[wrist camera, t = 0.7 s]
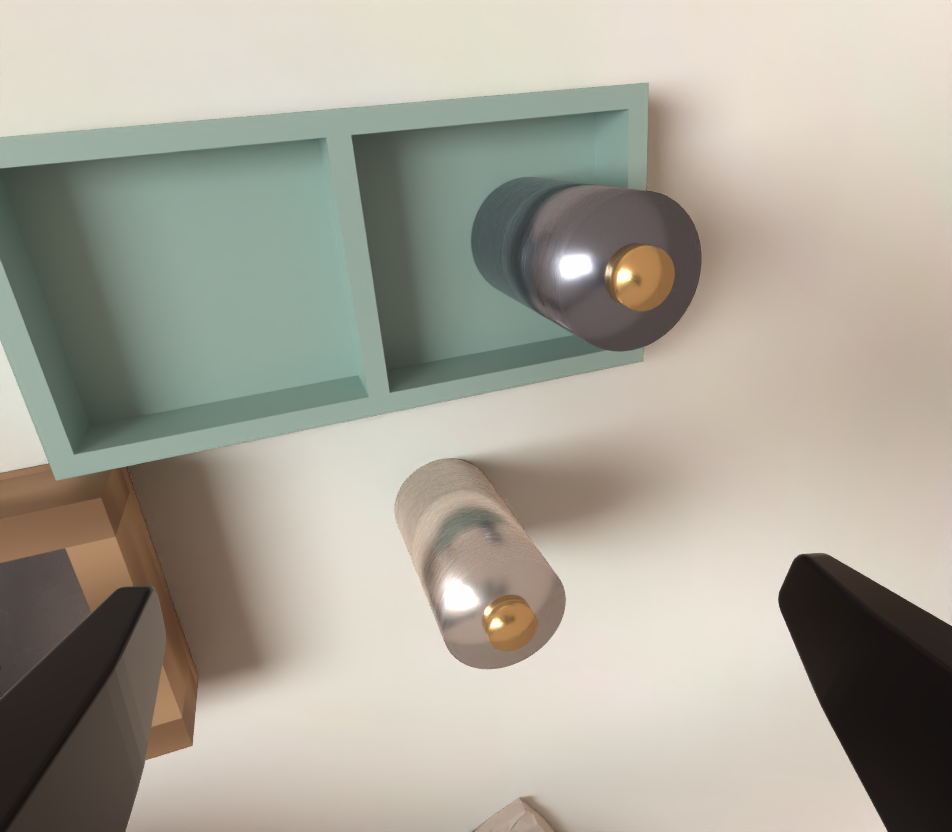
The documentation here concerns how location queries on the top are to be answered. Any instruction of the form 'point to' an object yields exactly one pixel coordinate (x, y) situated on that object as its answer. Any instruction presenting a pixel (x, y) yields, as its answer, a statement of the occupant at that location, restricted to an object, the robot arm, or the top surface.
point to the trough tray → (282, 267)
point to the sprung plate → (36, 611)
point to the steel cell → (477, 566)
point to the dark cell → (590, 257)
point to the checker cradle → (103, 567)
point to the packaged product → (516, 820)
